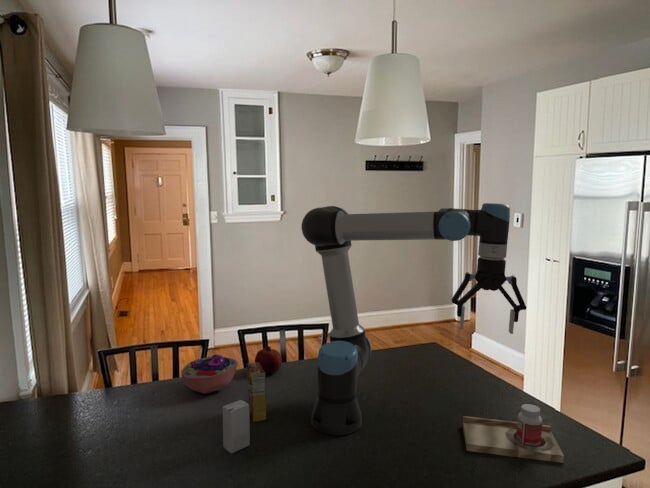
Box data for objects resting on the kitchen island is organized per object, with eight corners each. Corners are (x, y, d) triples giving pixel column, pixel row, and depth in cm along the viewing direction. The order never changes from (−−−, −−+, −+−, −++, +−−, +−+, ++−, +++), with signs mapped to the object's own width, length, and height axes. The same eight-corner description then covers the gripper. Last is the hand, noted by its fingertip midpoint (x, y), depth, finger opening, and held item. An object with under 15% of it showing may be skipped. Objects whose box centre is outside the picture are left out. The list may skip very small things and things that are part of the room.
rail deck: (466, 450, 122) (467, 439, 121) (462, 426, 135) (463, 415, 134) (563, 462, 117) (564, 451, 117) (549, 436, 130) (550, 425, 129)
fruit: (249, 371, 172) (249, 346, 171) (270, 365, 179) (270, 340, 178) (265, 380, 164) (265, 354, 163) (287, 373, 171) (287, 348, 170)
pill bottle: (544, 447, 124) (547, 409, 123) (532, 454, 120) (535, 415, 119) (523, 437, 129) (526, 400, 128) (511, 443, 125) (513, 406, 124)
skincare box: (241, 439, 126) (241, 398, 125) (250, 446, 123) (250, 404, 121) (222, 447, 122) (221, 405, 120) (231, 455, 119) (230, 411, 117)
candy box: (247, 408, 143) (246, 362, 142) (260, 406, 145) (260, 361, 143) (252, 422, 135) (251, 373, 133) (266, 420, 137) (266, 372, 135)
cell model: (170, 391, 155) (169, 359, 154) (219, 373, 170) (218, 344, 169) (199, 407, 144) (198, 373, 143) (248, 386, 159) (248, 356, 158)
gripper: (447, 256, 128) (441, 329, 130) (542, 263, 122) (534, 338, 125) (446, 253, 135) (441, 321, 138) (536, 258, 129) (529, 330, 132)
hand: (485, 330), depth 131 cm, fingers open, 13 cm apart
